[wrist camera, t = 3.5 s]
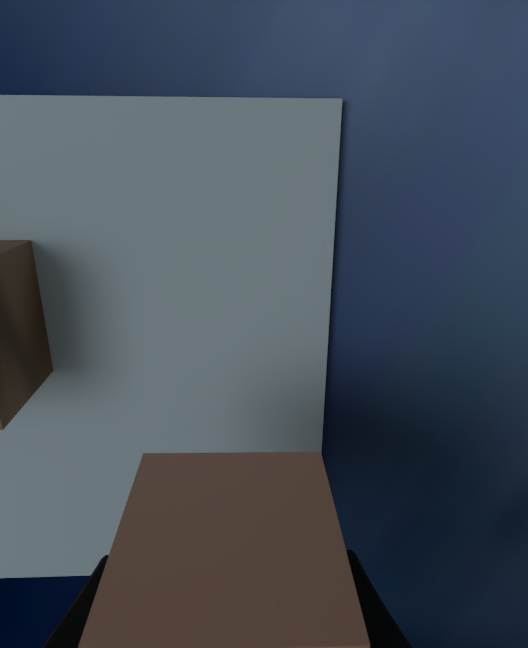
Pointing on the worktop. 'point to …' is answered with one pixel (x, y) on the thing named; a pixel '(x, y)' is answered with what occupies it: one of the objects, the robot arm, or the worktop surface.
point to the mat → (161, 297)
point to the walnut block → (20, 329)
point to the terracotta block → (228, 558)
